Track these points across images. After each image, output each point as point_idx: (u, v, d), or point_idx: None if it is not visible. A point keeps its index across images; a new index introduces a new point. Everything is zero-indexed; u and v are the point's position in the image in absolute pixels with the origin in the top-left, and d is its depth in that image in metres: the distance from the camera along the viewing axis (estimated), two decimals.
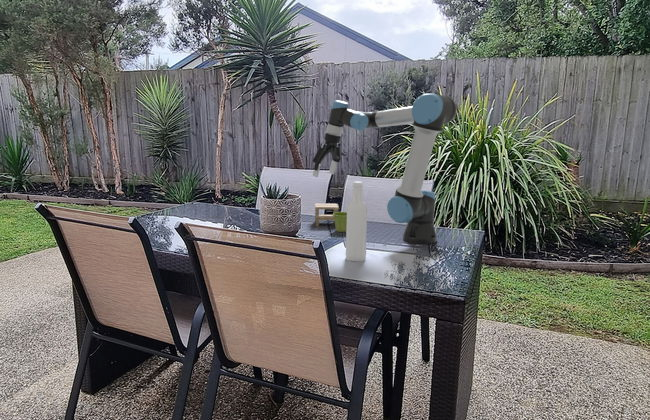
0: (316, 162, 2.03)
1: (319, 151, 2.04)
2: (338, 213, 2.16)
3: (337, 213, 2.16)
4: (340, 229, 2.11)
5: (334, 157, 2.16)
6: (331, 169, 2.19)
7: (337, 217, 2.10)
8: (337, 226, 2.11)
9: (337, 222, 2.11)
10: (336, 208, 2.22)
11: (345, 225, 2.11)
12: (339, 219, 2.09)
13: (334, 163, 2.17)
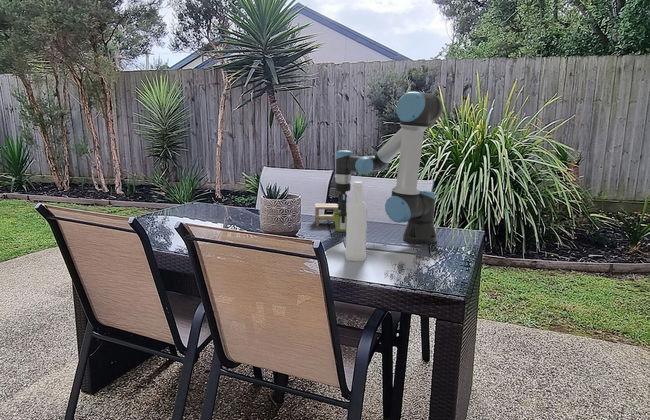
0: None
1: (343, 203, 2.05)
2: (338, 213, 2.17)
3: (337, 213, 2.16)
4: (340, 229, 2.11)
5: None
6: None
7: (337, 217, 2.10)
8: (337, 226, 2.11)
9: (337, 222, 2.11)
10: (336, 208, 2.22)
11: None
12: (339, 219, 2.10)
13: None
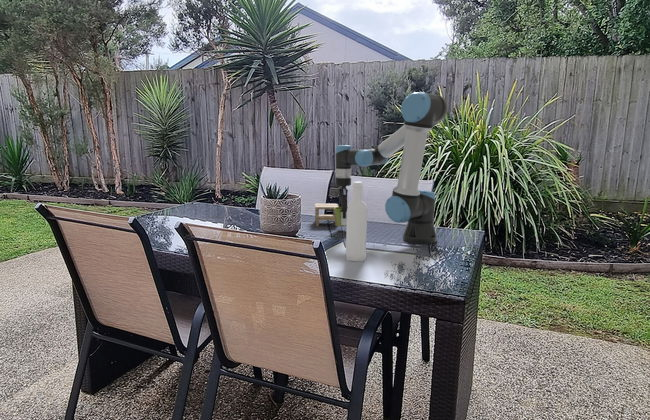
0: None
1: (344, 199, 2.04)
2: (339, 208, 2.16)
3: (338, 208, 2.16)
4: None
5: None
6: None
7: (338, 211, 2.09)
8: (339, 220, 2.10)
9: (338, 216, 2.10)
10: None
11: None
12: (340, 213, 2.09)
13: None
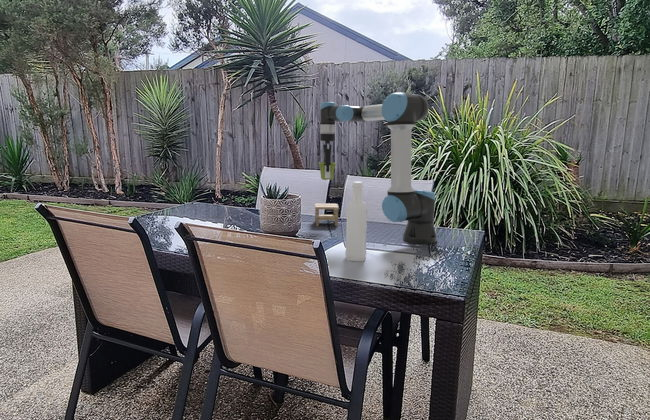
0: (330, 163, 2.16)
1: (327, 152, 2.16)
2: (323, 163, 2.28)
3: (322, 163, 2.27)
4: None
5: None
6: None
7: (322, 165, 2.21)
8: (322, 174, 2.22)
9: (322, 170, 2.22)
10: (336, 208, 2.22)
11: (330, 173, 2.22)
12: (324, 167, 2.21)
13: None
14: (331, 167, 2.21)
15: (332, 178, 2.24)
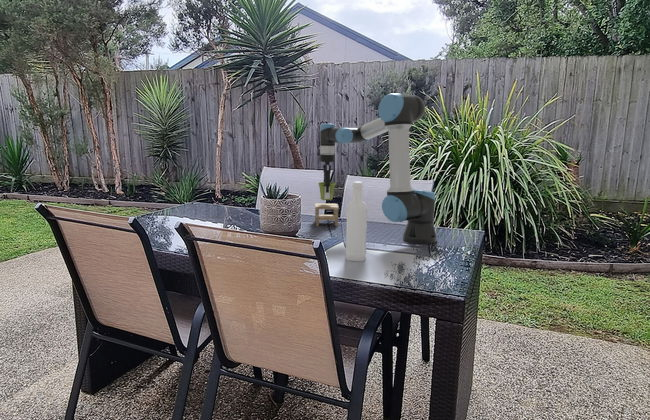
0: None
1: (327, 174, 2.18)
2: (323, 183, 2.30)
3: (322, 183, 2.29)
4: None
5: None
6: None
7: (322, 186, 2.23)
8: (322, 195, 2.24)
9: (322, 191, 2.24)
10: (336, 208, 2.22)
11: None
12: (324, 188, 2.23)
13: None
14: (331, 188, 2.23)
15: (332, 198, 2.26)
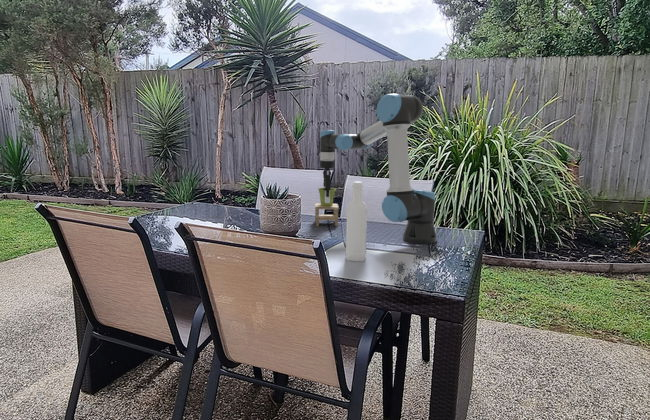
0: (330, 188, 2.16)
1: (327, 178, 2.17)
2: (323, 189, 2.30)
3: (322, 189, 2.30)
4: (325, 203, 2.25)
5: None
6: None
7: (322, 192, 2.23)
8: (322, 200, 2.25)
9: (322, 197, 2.24)
10: (336, 208, 2.22)
11: None
12: (324, 194, 2.23)
13: None
14: (331, 194, 2.23)
15: (332, 204, 2.26)
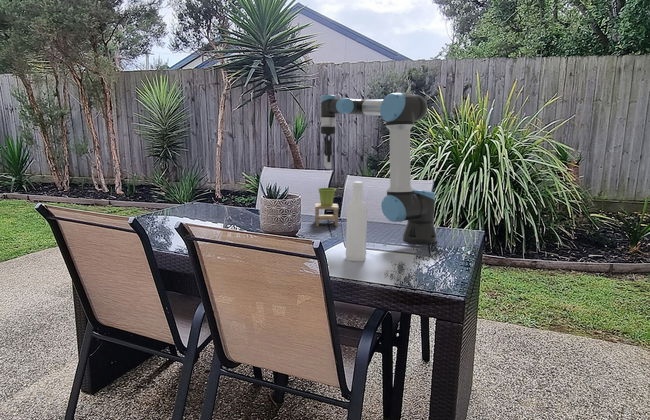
0: (331, 153, 2.14)
1: (328, 143, 2.15)
2: (323, 189, 2.30)
3: (322, 189, 2.30)
4: (325, 203, 2.25)
5: None
6: (326, 162, 2.31)
7: (322, 192, 2.23)
8: (322, 200, 2.25)
9: (322, 197, 2.24)
10: (336, 208, 2.22)
11: (329, 199, 2.24)
12: (324, 194, 2.23)
13: None
14: (331, 194, 2.23)
15: (332, 204, 2.26)
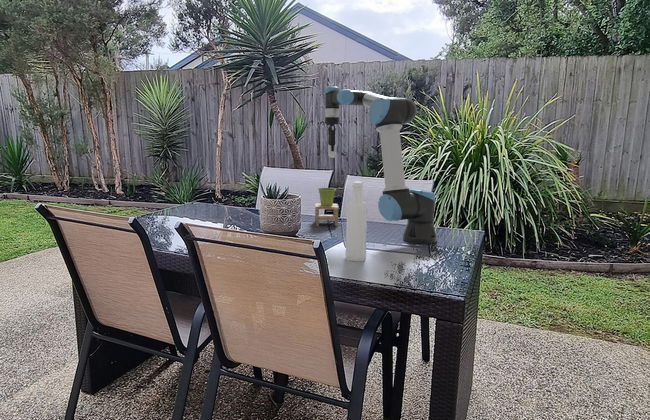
0: (335, 142, 2.24)
1: (332, 133, 2.25)
2: (323, 189, 2.30)
3: (322, 189, 2.30)
4: (325, 203, 2.25)
5: None
6: (330, 152, 2.41)
7: (322, 192, 2.23)
8: (322, 200, 2.25)
9: (322, 197, 2.24)
10: (336, 208, 2.22)
11: (329, 199, 2.24)
12: (324, 194, 2.23)
13: None
14: (331, 194, 2.23)
15: (332, 204, 2.26)
